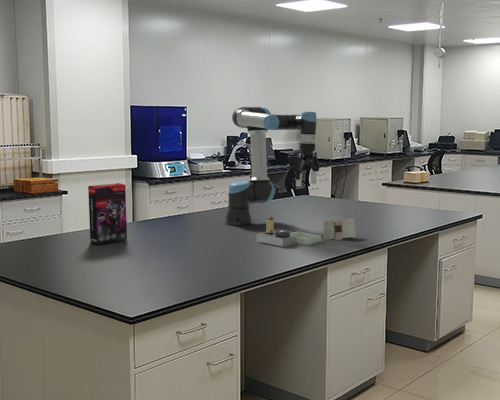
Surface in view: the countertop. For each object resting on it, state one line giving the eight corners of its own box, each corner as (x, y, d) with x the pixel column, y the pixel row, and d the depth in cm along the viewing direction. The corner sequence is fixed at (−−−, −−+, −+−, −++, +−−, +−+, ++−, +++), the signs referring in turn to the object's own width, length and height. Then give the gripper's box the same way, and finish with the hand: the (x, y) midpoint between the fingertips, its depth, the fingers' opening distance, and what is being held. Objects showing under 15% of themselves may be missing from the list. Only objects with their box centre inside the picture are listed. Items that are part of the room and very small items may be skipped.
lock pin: (264, 241, 297) (265, 217, 295) (268, 240, 300) (269, 216, 298) (270, 242, 295) (270, 218, 293) (274, 241, 298) (275, 217, 296)
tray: (283, 240, 299) (283, 234, 299) (298, 237, 308) (298, 231, 308) (306, 245, 290) (307, 239, 290) (321, 241, 299) (321, 235, 299)
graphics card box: (96, 245, 280) (95, 187, 275) (88, 243, 284) (87, 185, 280) (127, 240, 292) (127, 184, 288) (118, 238, 297) (118, 182, 292)
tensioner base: (256, 241, 296) (256, 228, 295) (269, 238, 304) (269, 225, 303) (282, 247, 286) (283, 233, 285) (295, 243, 293) (295, 230, 292)
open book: (357, 246, 308) (355, 223, 318) (356, 236, 302) (354, 213, 311) (325, 249, 311) (324, 226, 321) (323, 239, 305) (322, 216, 314)
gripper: (300, 144, 291) (298, 188, 295) (327, 142, 311) (325, 183, 314) (287, 143, 296) (285, 186, 299) (314, 141, 315) (313, 182, 319)
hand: (306, 185), depth 307 cm, fingers open, 13 cm apart
